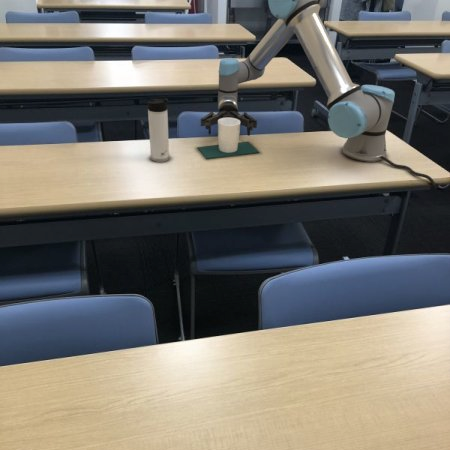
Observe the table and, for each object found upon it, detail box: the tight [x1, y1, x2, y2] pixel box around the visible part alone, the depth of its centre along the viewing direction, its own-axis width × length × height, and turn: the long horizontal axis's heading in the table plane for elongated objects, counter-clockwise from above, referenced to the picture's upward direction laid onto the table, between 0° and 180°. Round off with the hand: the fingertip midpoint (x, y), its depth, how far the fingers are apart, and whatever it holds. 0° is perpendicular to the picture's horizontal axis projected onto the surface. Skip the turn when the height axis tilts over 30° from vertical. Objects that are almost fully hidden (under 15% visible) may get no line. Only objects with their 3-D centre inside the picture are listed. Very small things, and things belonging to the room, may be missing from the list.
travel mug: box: [147, 97, 170, 163], centre depth 161 cm, size 6×7×20 cm
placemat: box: [197, 141, 260, 160], centre depth 174 cm, size 10×20×1 cm, turn 111°
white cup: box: [217, 118, 241, 153], centre depth 171 cm, size 8×8×10 cm
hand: (229, 131), depth 168 cm, fingers open, 13 cm apart
